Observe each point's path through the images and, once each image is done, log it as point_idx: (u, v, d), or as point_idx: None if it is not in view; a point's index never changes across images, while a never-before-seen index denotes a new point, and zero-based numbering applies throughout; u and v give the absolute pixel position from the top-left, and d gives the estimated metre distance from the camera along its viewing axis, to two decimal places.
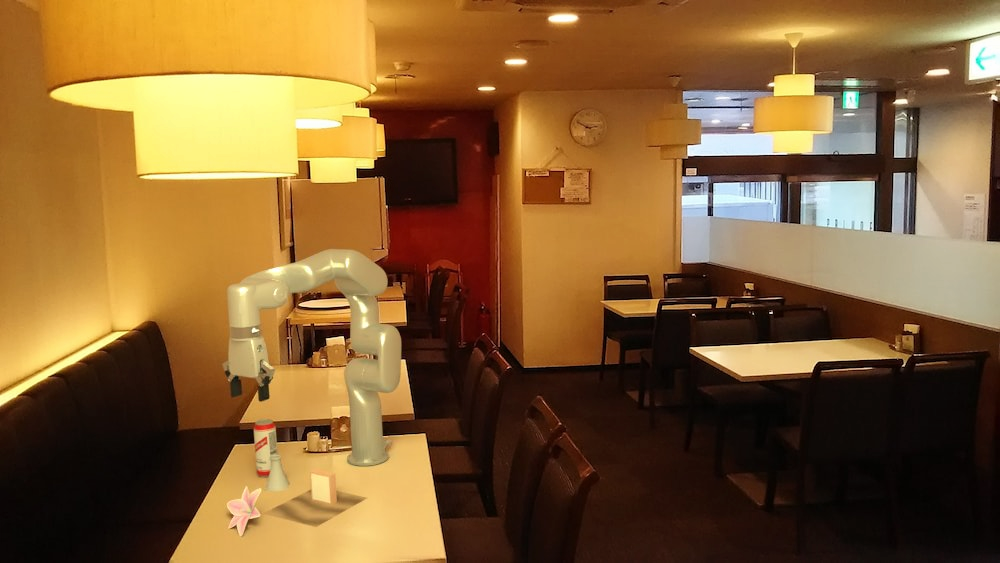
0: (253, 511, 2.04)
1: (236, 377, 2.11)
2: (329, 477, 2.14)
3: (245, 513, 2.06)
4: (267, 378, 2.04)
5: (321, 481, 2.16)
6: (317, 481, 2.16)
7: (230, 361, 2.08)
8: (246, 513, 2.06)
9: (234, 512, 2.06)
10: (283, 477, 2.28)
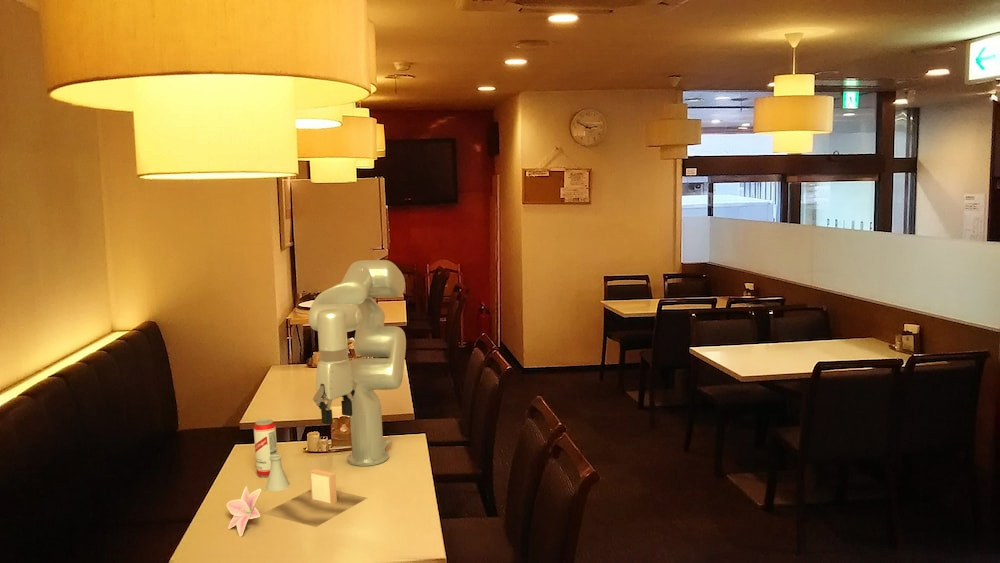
0: (253, 512, 2.03)
1: None
2: (329, 477, 2.14)
3: (245, 513, 2.06)
4: (354, 391, 2.25)
5: (321, 481, 2.16)
6: (317, 481, 2.16)
7: (332, 386, 2.15)
8: (246, 513, 2.06)
9: (234, 512, 2.06)
10: (283, 477, 2.28)
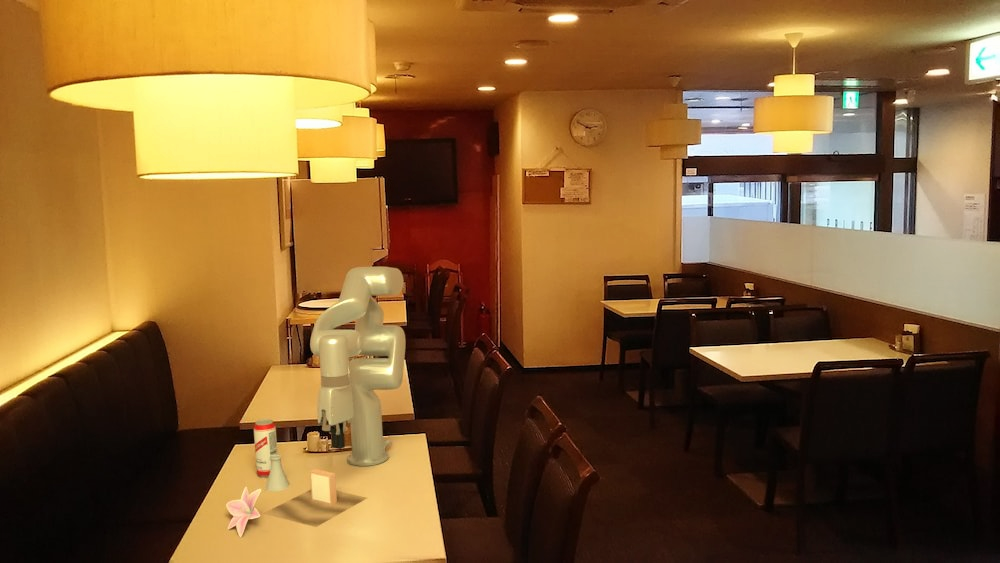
0: (253, 512, 2.03)
1: None
2: (329, 477, 2.14)
3: (245, 514, 2.06)
4: (347, 423, 2.23)
5: (321, 481, 2.16)
6: (317, 481, 2.16)
7: (333, 412, 2.16)
8: (246, 514, 2.06)
9: (234, 512, 2.06)
10: (283, 477, 2.28)
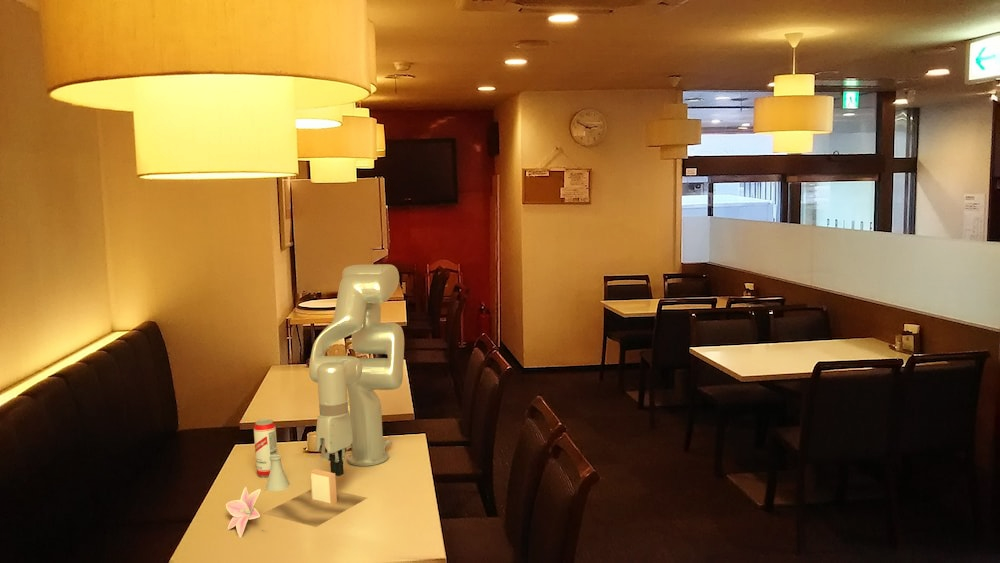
0: (252, 512, 2.03)
1: None
2: (329, 477, 2.14)
3: (244, 514, 2.06)
4: (346, 449, 2.23)
5: (321, 481, 2.16)
6: (317, 481, 2.16)
7: (332, 440, 2.16)
8: (245, 514, 2.06)
9: (233, 513, 2.06)
10: (283, 477, 2.28)
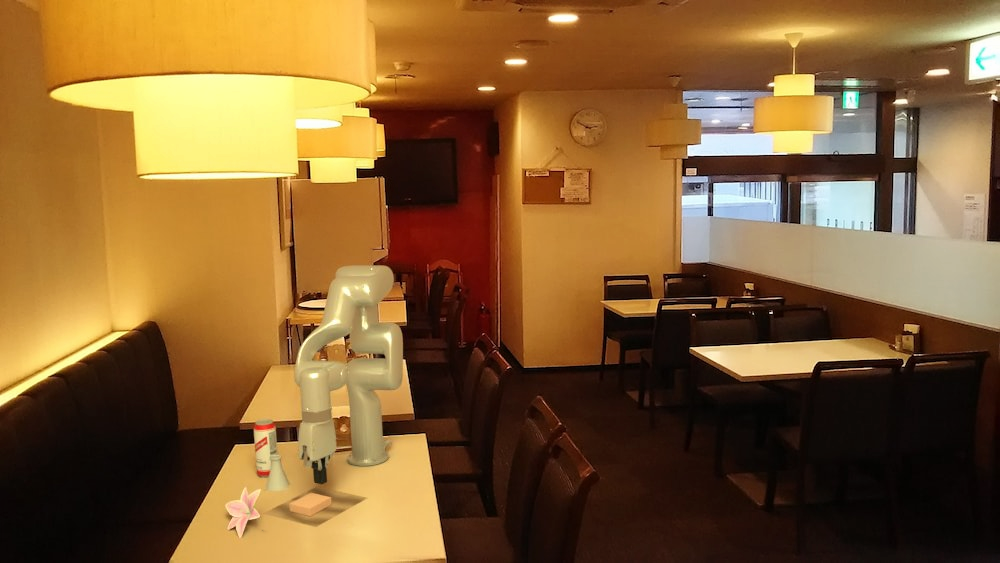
0: (252, 512, 2.03)
1: None
2: None
3: (244, 514, 2.06)
4: (329, 457, 2.17)
5: None
6: None
7: (314, 448, 2.10)
8: (245, 514, 2.06)
9: (233, 513, 2.06)
10: (283, 477, 2.28)
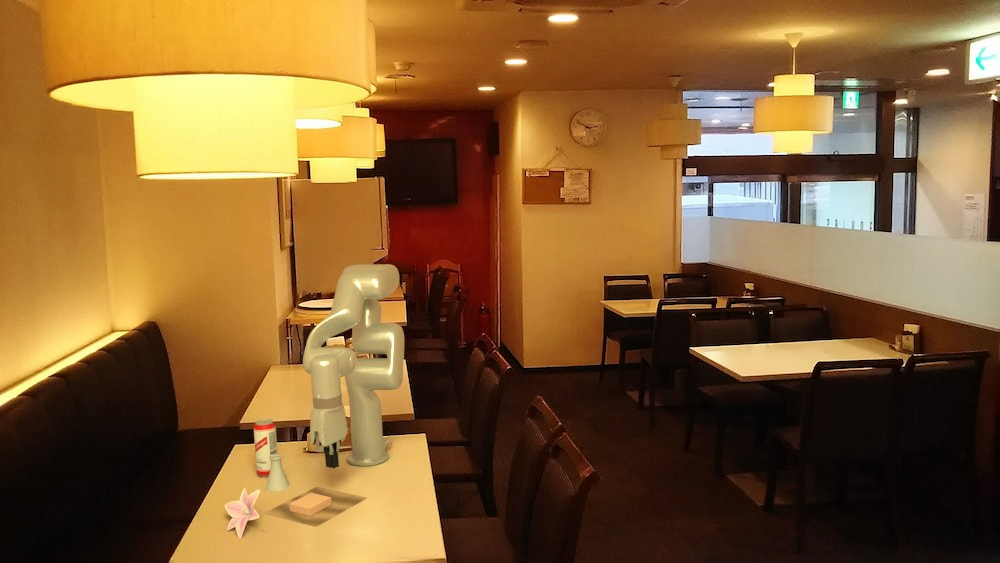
0: (252, 513, 2.03)
1: None
2: None
3: (243, 515, 2.05)
4: (340, 441, 2.22)
5: None
6: None
7: (326, 433, 2.14)
8: (244, 515, 2.05)
9: (232, 514, 2.05)
10: (283, 477, 2.28)
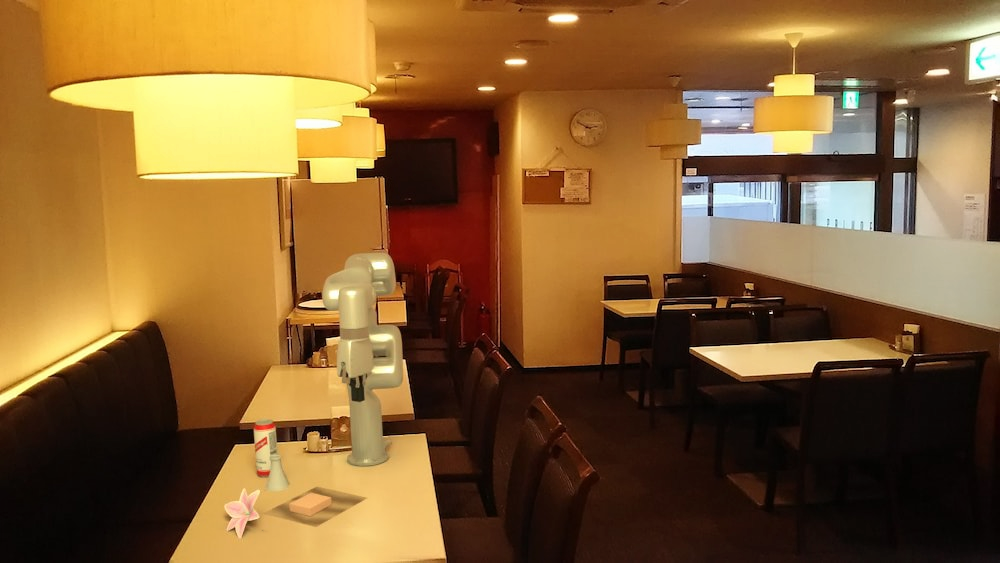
0: (252, 513, 2.02)
1: None
2: None
3: (243, 515, 2.05)
4: (366, 376, 2.20)
5: None
6: None
7: (353, 364, 2.13)
8: (244, 515, 2.05)
9: (232, 514, 2.05)
10: (283, 477, 2.28)
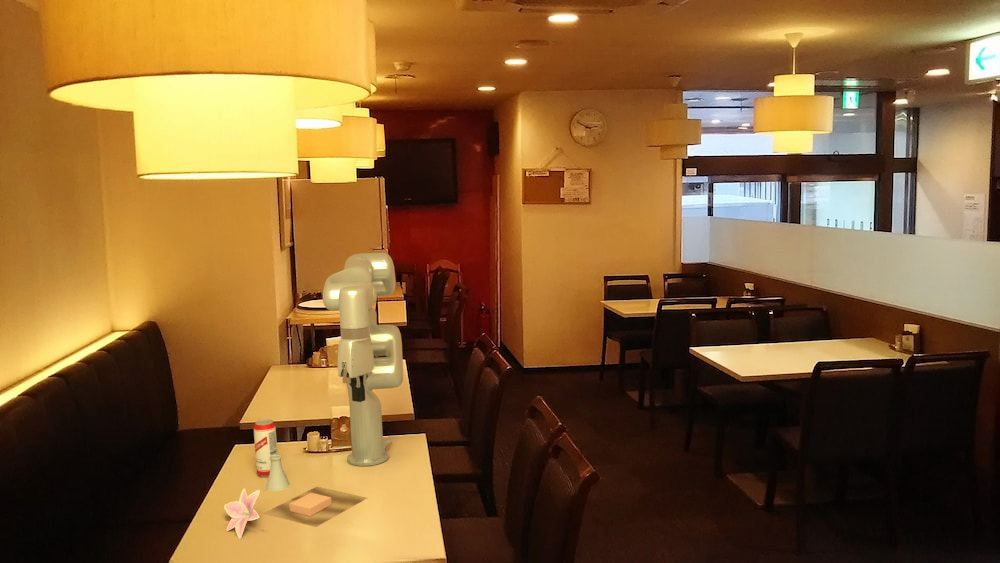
0: (252, 513, 2.02)
1: None
2: None
3: (243, 515, 2.05)
4: (367, 376, 2.20)
5: None
6: None
7: (353, 364, 2.13)
8: (244, 515, 2.05)
9: (232, 514, 2.05)
10: (283, 477, 2.28)
